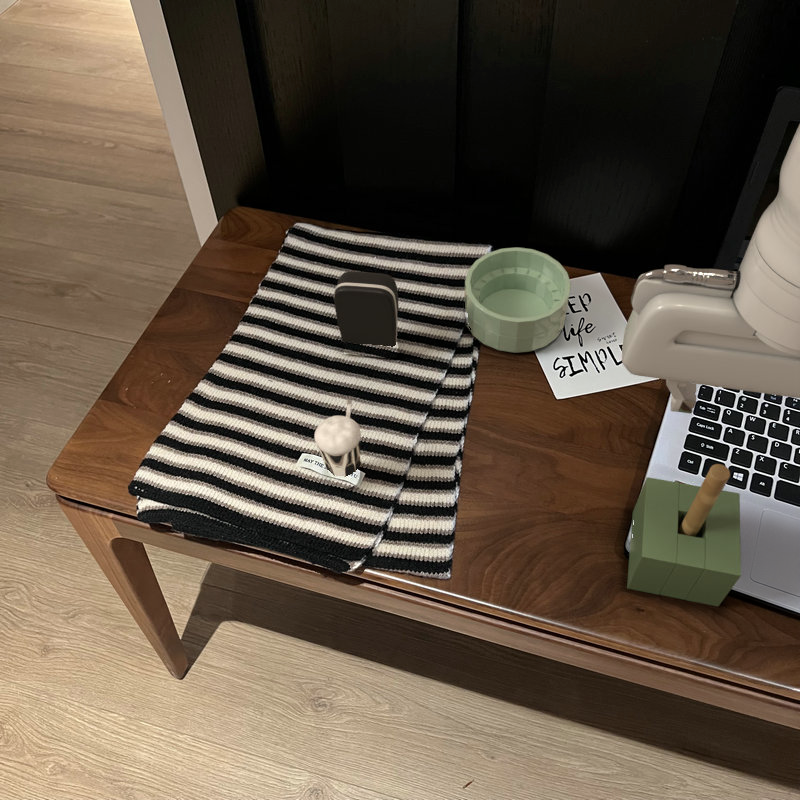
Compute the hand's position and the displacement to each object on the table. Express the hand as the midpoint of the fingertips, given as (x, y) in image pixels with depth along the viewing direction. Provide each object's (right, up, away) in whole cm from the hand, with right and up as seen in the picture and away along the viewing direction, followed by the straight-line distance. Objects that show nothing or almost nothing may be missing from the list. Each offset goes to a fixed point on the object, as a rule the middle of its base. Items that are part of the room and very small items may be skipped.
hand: (745, 415), depth 59 cm
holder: (+1, -14, +17) cm, 23 cm away
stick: (0, -9, +11) cm, 15 cm away
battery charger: (-29, +8, +36) cm, 47 cm away
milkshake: (-32, -7, +25) cm, 41 cm away
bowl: (-12, +11, +37) cm, 41 cm away
